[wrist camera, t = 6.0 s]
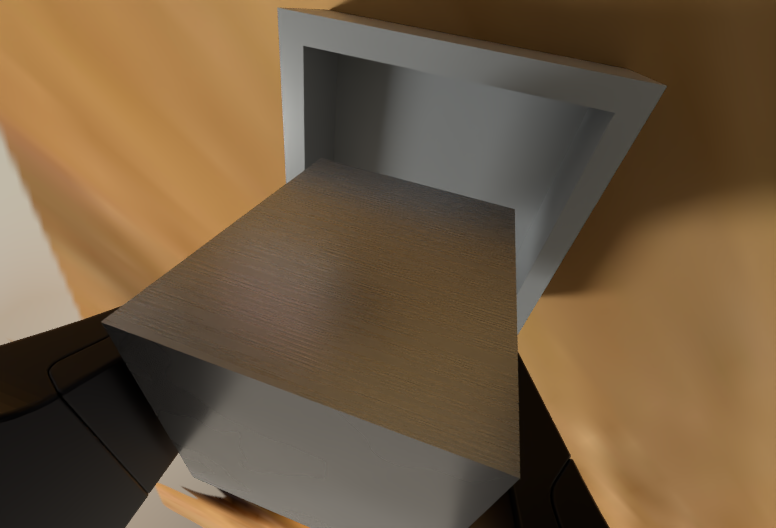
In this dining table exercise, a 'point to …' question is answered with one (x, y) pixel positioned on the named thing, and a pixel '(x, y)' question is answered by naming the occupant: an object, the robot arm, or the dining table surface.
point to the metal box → (341, 353)
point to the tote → (462, 122)
